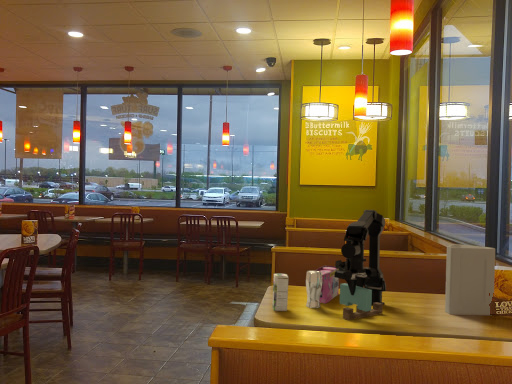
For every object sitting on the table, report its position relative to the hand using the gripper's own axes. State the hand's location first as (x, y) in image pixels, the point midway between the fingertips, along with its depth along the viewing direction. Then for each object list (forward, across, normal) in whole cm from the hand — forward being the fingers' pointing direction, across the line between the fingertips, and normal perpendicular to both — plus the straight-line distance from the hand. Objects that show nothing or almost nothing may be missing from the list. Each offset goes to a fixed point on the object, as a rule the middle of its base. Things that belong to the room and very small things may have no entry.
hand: (355, 294), depth 178 cm
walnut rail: (+9, -5, 0) cm, 10 cm away
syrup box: (+9, +19, -24) cm, 32 cm away
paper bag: (+9, -52, +15) cm, 55 cm away
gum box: (+9, -13, -31) cm, 35 cm away
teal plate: (+5, 0, 0) cm, 5 cm away
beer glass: (+9, +3, -21) cm, 23 cm away
